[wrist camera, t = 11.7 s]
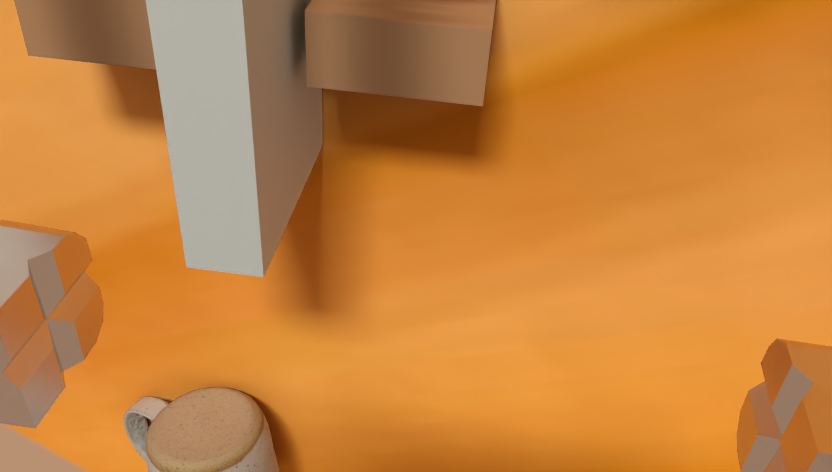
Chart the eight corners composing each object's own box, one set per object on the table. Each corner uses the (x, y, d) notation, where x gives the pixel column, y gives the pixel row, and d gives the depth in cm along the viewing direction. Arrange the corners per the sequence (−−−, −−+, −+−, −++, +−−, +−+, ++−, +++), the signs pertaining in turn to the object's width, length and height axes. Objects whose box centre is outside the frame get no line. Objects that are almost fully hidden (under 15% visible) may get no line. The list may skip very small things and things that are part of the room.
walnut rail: (498, -17, 32) (491, 30, 28) (489, 52, 34) (482, 106, 30) (73, -60, 33) (9, -21, 29) (87, 9, 35) (28, 55, 31)
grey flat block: (238, -189, 29) (125, -131, 21) (317, -183, 29) (232, -121, 21) (261, 137, 38) (186, 267, 30) (322, 145, 38) (263, 277, 30)
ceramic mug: (279, 380, 48) (238, 486, 42) (299, 466, 53) (265, 572, 47) (118, 369, 50) (56, 469, 43) (151, 453, 54) (99, 554, 48)
